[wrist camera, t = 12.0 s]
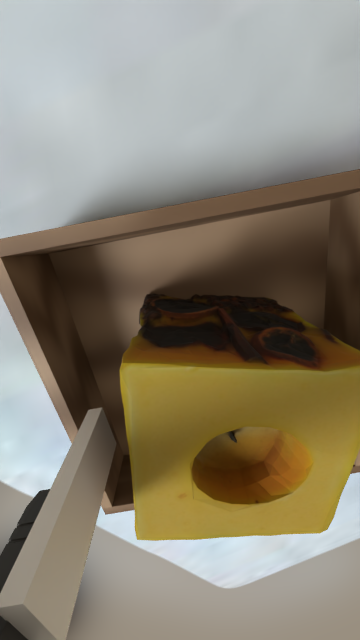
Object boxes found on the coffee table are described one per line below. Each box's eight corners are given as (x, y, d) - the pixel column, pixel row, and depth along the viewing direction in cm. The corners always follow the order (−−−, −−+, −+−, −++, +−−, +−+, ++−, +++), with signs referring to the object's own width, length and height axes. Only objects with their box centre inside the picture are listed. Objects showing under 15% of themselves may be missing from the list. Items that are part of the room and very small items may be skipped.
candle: (144, 292, 16) (108, 356, 7) (273, 294, 17) (409, 357, 7) (147, 401, 19) (126, 546, 10) (255, 400, 20) (330, 538, 11)
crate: (41, 244, 16) (-23, 243, 10) (332, 188, 15) (416, 157, 10) (120, 453, 23) (105, 514, 18) (319, 419, 22) (364, 471, 17)
